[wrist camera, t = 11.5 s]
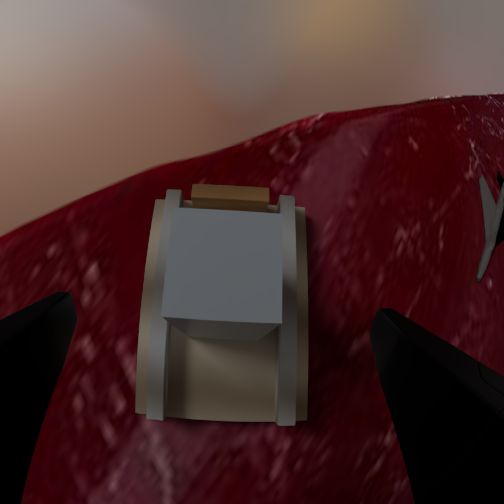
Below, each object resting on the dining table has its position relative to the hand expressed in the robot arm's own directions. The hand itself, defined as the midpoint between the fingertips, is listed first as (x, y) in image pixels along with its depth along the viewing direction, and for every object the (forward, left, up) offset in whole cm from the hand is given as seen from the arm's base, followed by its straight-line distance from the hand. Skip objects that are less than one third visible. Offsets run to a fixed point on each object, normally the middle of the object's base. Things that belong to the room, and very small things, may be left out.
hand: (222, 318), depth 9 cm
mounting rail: (+2, -1, -13) cm, 13 cm away
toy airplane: (-2, -32, -13) cm, 35 cm away
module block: (+2, -1, -12) cm, 12 cm away
